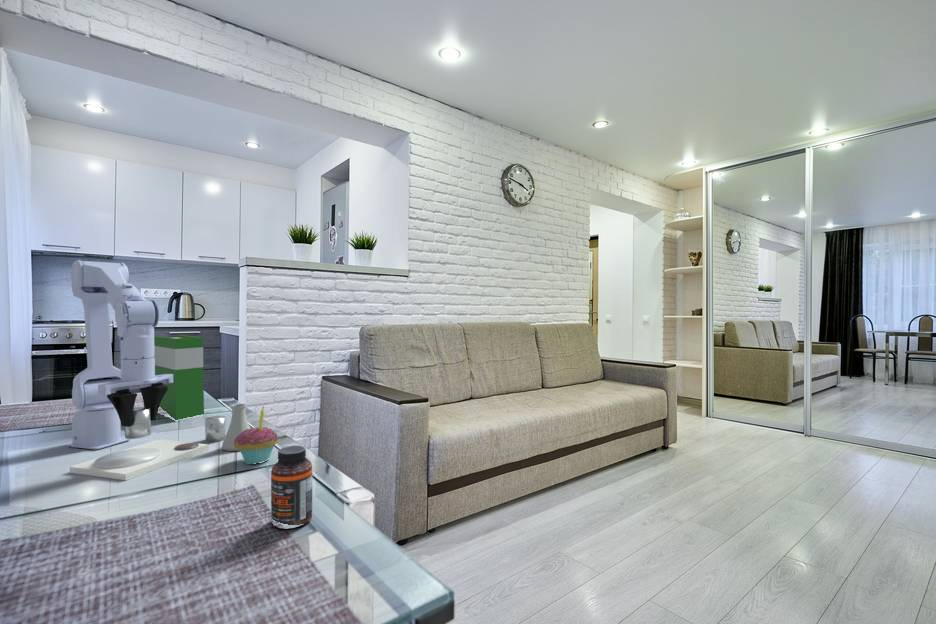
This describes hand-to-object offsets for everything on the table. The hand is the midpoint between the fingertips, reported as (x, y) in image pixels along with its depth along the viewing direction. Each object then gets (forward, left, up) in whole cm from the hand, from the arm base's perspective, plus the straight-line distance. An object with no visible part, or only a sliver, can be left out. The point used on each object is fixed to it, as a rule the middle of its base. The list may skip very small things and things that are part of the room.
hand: (139, 423), depth 94 cm
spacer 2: (+1, +19, -9) cm, 21 cm away
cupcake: (+22, +9, -9) cm, 25 cm away
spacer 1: (0, 0, -3) cm, 3 cm away
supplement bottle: (+47, -12, -9) cm, 49 cm away
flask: (+11, +16, -9) cm, 21 cm away
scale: (-2, +3, -9) cm, 10 cm away
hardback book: (-31, +37, -9) cm, 49 cm away
